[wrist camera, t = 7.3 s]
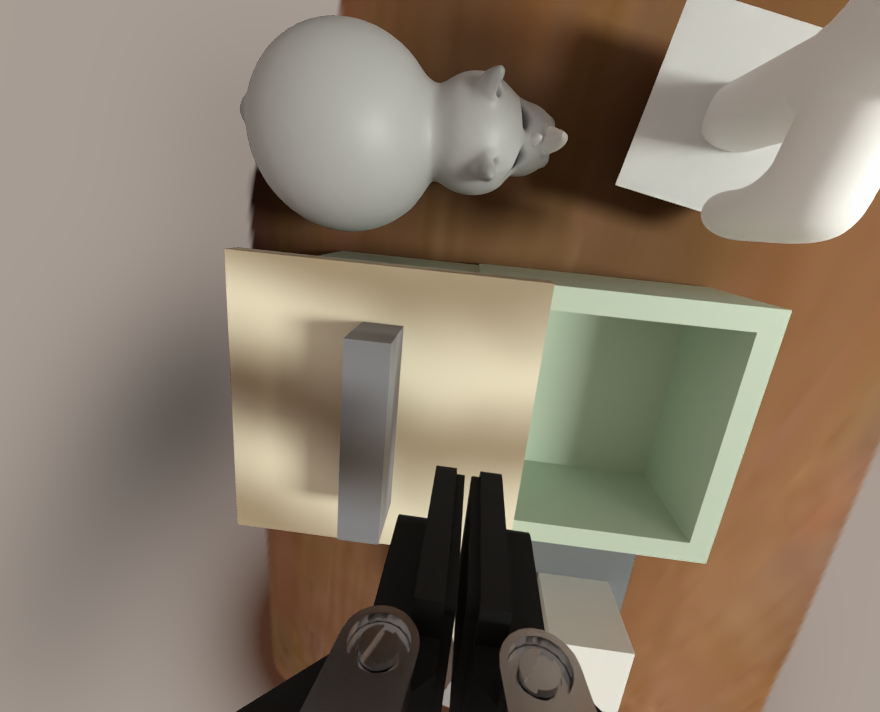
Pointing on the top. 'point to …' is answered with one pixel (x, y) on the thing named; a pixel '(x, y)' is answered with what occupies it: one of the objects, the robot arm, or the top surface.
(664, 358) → the bin
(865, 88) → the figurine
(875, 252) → the top surface
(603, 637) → the white stacked cube
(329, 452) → the lid
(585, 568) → the mat
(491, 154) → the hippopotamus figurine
